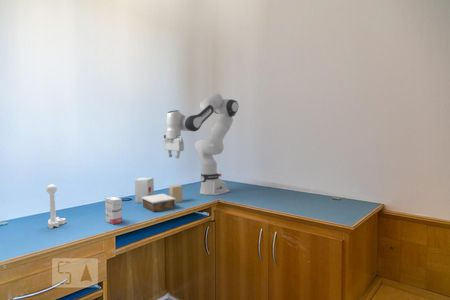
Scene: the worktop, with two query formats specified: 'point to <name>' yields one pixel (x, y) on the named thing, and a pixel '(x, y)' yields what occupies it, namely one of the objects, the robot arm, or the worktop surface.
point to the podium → (158, 202)
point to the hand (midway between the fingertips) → (173, 157)
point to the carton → (176, 193)
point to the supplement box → (143, 188)
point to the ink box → (113, 210)
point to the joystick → (53, 209)
